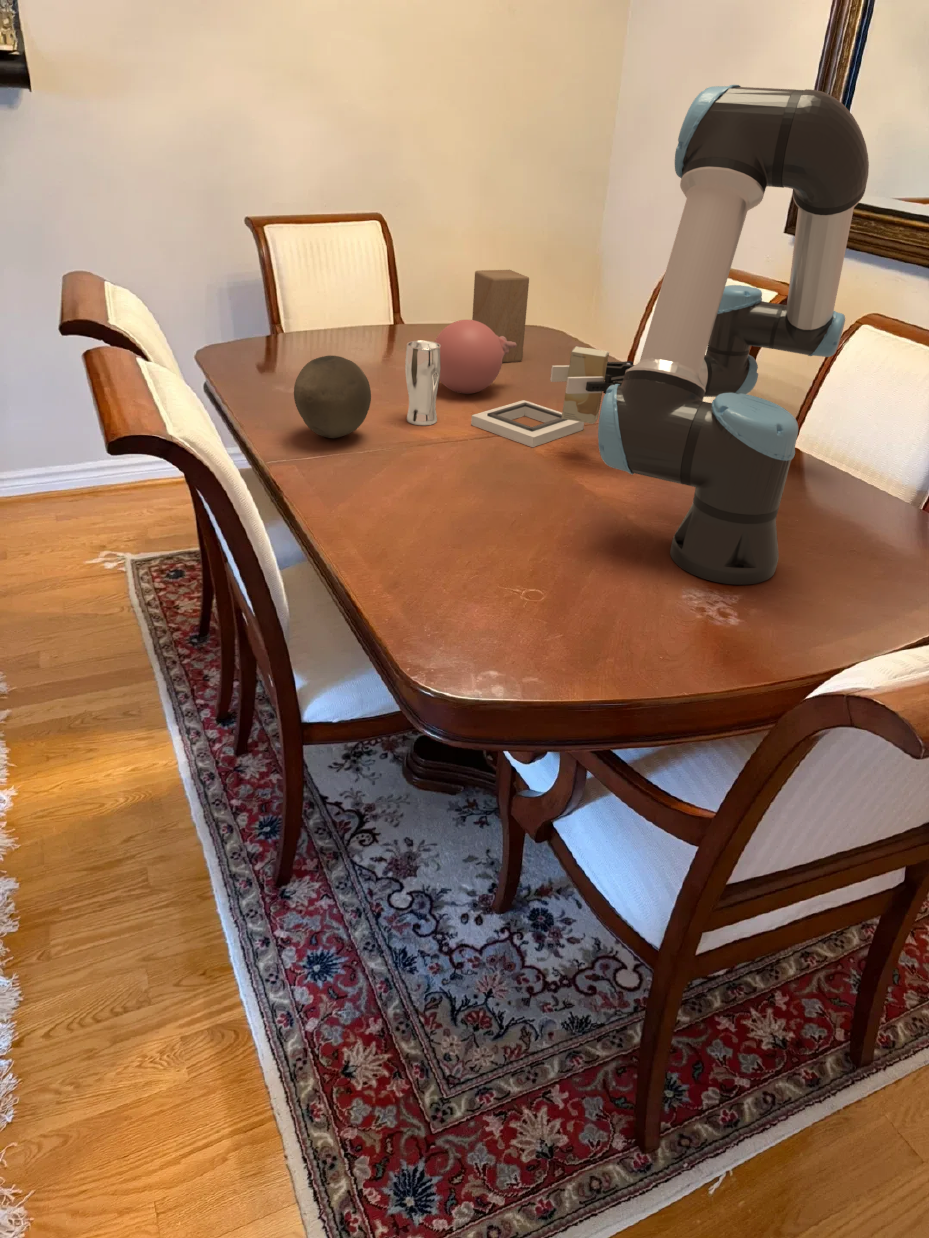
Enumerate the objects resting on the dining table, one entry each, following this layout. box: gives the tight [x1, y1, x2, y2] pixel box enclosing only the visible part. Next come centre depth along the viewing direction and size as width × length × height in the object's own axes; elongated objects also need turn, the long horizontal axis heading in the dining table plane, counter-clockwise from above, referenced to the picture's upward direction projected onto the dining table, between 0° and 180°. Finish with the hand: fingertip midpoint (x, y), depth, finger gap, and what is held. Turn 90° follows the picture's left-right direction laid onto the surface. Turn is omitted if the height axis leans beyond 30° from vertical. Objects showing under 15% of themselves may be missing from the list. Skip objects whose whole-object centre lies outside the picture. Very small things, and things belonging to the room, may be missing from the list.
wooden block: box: [471, 269, 530, 364], centre depth 209 cm, size 10×10×20 cm
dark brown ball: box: [293, 355, 372, 439], centre depth 156 cm, size 14×14×15 cm
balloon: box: [434, 319, 517, 395], centre depth 186 cm, size 15×20×15 cm
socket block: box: [470, 399, 585, 448], centre depth 170 cm, size 16×16×2 cm
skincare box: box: [562, 345, 610, 425], centre depth 152 cm, size 6×4×12 cm
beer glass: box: [404, 339, 441, 426], centre depth 167 cm, size 7×7×15 cm
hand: (559, 379), depth 150 cm, fingers closed on skincare box, 7 cm apart
